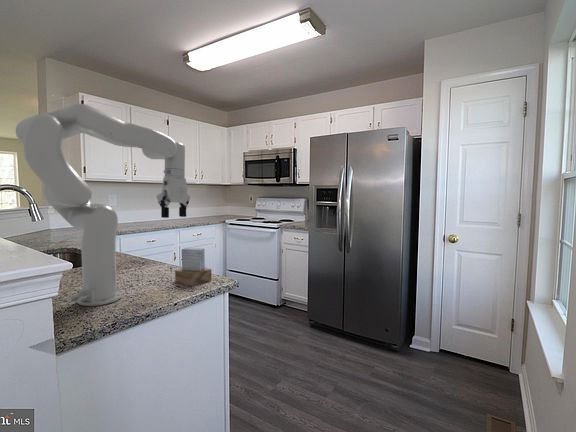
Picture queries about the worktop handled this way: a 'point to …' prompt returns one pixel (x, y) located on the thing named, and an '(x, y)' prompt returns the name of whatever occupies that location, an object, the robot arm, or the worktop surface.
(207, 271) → the walnut block
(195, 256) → the medicine box
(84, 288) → the robot arm
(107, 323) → the worktop surface
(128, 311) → the worktop surface
